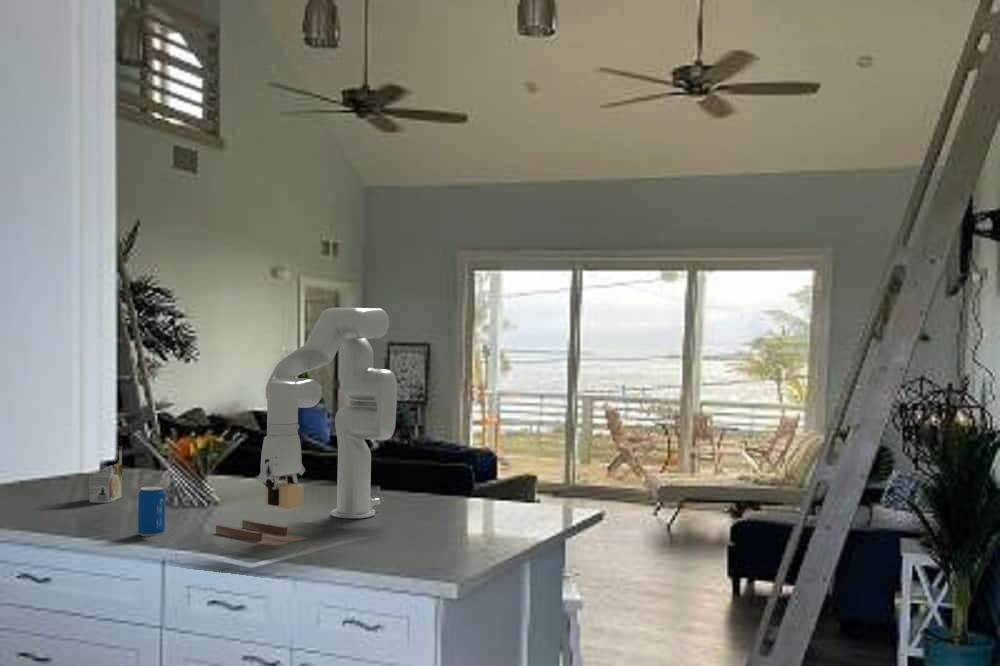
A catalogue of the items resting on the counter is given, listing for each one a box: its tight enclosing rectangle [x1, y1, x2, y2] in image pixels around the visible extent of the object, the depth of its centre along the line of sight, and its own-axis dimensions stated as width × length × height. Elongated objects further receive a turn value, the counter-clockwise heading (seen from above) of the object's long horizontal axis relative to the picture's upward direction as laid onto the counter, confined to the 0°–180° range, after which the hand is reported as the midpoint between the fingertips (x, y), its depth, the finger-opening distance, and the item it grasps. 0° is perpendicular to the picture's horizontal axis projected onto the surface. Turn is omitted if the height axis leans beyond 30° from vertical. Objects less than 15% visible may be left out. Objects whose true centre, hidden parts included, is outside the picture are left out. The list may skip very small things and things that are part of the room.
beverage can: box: [137, 485, 167, 538], centre depth 243 cm, size 6×6×12 cm
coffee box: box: [89, 446, 123, 504], centre depth 290 cm, size 9×6×16 cm
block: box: [264, 481, 304, 510], centre depth 236 cm, size 5×8×5 cm, turn 57°
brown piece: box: [214, 519, 308, 547], centre depth 239 cm, size 12×22×3 cm, turn 56°
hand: (281, 502), depth 236 cm, fingers closed on block, 5 cm apart
